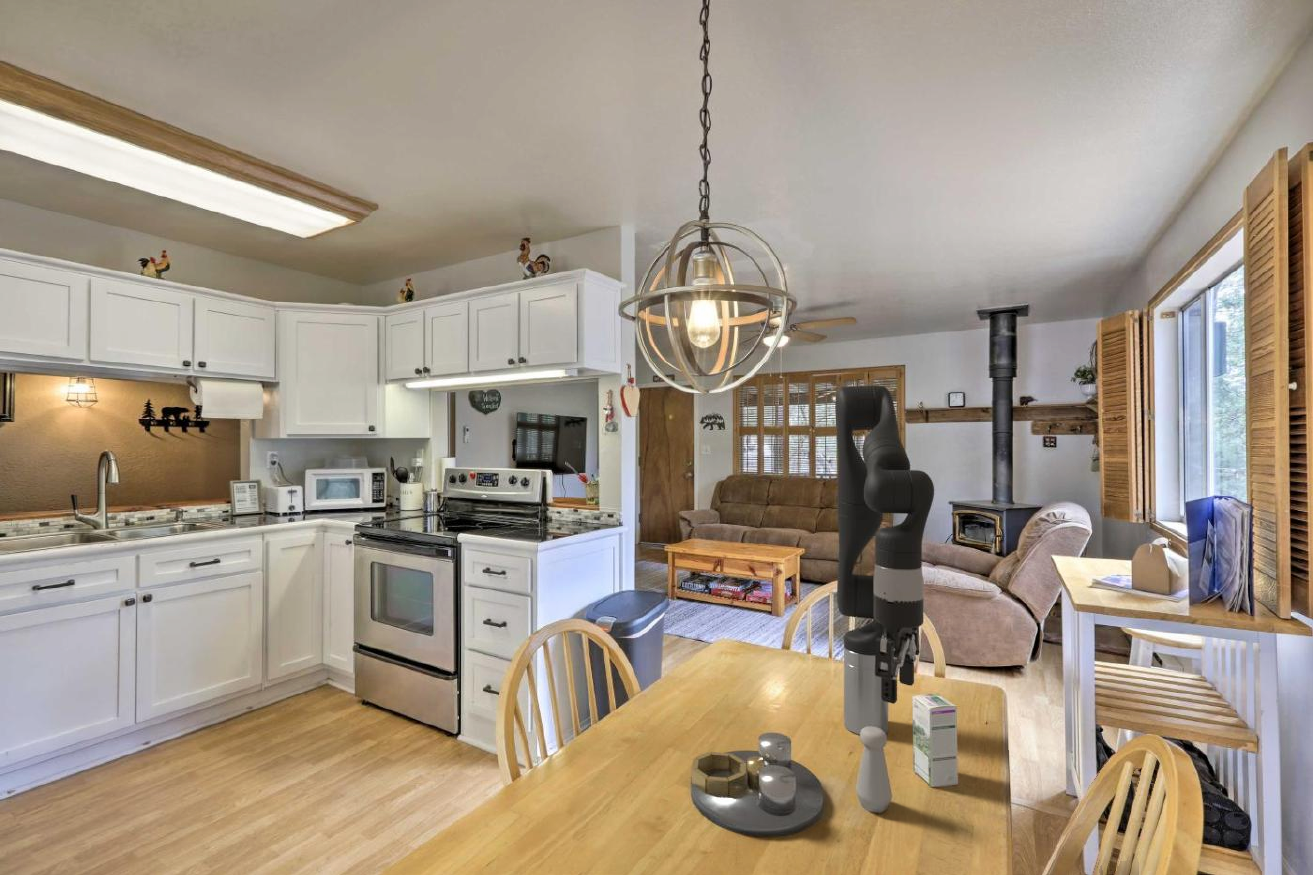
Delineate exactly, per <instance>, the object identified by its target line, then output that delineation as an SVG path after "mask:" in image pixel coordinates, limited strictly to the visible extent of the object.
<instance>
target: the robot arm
mask: <svg viewBox="0 0 1313 875" xmlns="http://www.w3.org/2000/svg"><path fill="white" fill-rule="evenodd" d="M893 400H894V399H893V396H892V393H891V391H890V390H889V389H888V388H887V387H885V386H884V385H859V386H858V385H857V386H856V385H855V386H851V385H850V386H842V387H840V388H839V389H838V390H837V392H836V394H835V400H834V401H835V406H834V410H835V412H834V413H835V426H836V427H835V428H836V441H837V442H836V443H837V460H838V461H837V463H838V466H837V470H838V471H837V472H838V473H837V474H838V476H837V526H838V527H837V529H838V567H837V584H836V585H837V587H836V594H837V595H836V599H837V600H836V602H837V603H836V604H837V608H838V611H839V613H840V615H842V616H844V617H851V618H861V619H871V620H872V621H871V622H870V623H868V624H866V625H864V626H862V627H859V628H858V627H857V628H854V629H852V630H849V631H847V632H846V633H845V634H844V636H843V725H844V727H845V728H846V729H847V730H848V731H850V732H851V733H854V734H857V735H859V736H860V733H861V730H862V729H863V728H864V727H867V726H872V727H877V728H880V729H881V730H883V731H884V732H885V734H886V735H887V733H889V703H890V704H894V705H895V704H896V702H897V701H898V681H899V683H900V684H903V685H906V686H911V687H912V686H913V685H914V684H915V663H916V661H917V656H919V655H920V653H921V652H920V627H921V626H922V625H923V624H924V576H923V567H922V566H923V564H922V563H923V558H922V557H923V556H922V554H923V551H922V550H923V549H922V548H923V545H922V544H923V538H924V532H925V528H926V525H927V524H926V523H927V520H928V517H929V514H930V511H931V509H932V508H931V507H932V505H933V502H934V497H935V484H934V482H933V480H932V478H931V477H930V475H929V474H928V473H926V472H925V471H923V470H918V469H913V470H911V462H910V460H909V457H908V454H907V452H906V450H905V447H904V446H903V444H902V440H901V438H900V433H899V432H900V431H899V425H898V418H897V414H896V409H895V404H894V401H893ZM854 431H870V432H869V433H868V434H867V436H866V437H865V439H864V441H863V443H862V449H861V450H862V452H861V453H862V456H861V454H860V452H859V450H858V448H857V446H856V444H855V441H854V436H853V435H854V434H853V433H854ZM884 514H901V515H902V514H904V515H905V514H907V515H906V517H905V518H904V520H903V521H902V522H901V523H900V524H896V525H892V526H888V527H883V528H880V527H881V526H882V522H883V520H884V519H883V518H884ZM874 536H875V540H874V542H875V543H874V544H875V545H874V547H875V548H874V550H875V551H874V554H875V555H874V559H875V564H874V574H873V575H871V574H870V575H867V574H854V573H853V572H854V569H855V566H856V563H857V561H858V560H859V557H860V555H861V554H862V553H863V551H864V549H865V548H866V546H867V545H868V544H869V542H871V540H872V539H873V537H874ZM898 677H899V678H898ZM898 679H899V680H898Z"/></svg>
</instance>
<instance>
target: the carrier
mask: <svg viewBox="0 0 1313 875" xmlns="http://www.w3.org/2000/svg"><path fill="white" fill-rule="evenodd" d="M757 742H758V745H757V746H758V748H757V749H758V750H731V751H725V752H721V751H720V752H719V751H707V752H705V753H702V754H700V755H698V756H695V757H693V760H692V763H691V764H692V765H691V777H690V797H691V800H692V803H693V805H694V806H695V808H696V810H698V812H699V813H700V814H701V815H702V816H703V817H705V818H706V819H707V820H708V821H710V822H712V823H713V824H715V825H717V826H719V827H721V828H723V829H725V830H727V831H732V832H734V833H737V834H741V835H746V836H754V837H763V838H765V837H766V838H769V837H770V838H771V837H783V836H788V835H793V834H797V833H800V832H801V831H804V830H806V829H808V828H809V827H811V826H813V825H814V824H815V823H816V822H817V821H818V820H819V819H820V817H821V815H822V813H823V811H824V810H823V809H824V788H823V786H822V784H821V782H820V779H818V777H817V775H815V774H814V772H812V771H811V770H810V769H809V768H807V767H806V766H805V765H802V764H801V763H799V762H797V761H795V760H793V759H792V740H791V738H790V737H788V736H787V735H785V734H783V733H778V732H765V733H762V734H760V735H759V736H758V741H757Z"/></svg>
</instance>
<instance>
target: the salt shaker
mask: <svg viewBox="0 0 1313 875" xmlns="http://www.w3.org/2000/svg"><path fill="white" fill-rule="evenodd" d="M859 736H860V741H861V744H863V745H864V746H863V751H862V756H861V760H860V765H859V769H858V775H857V781H856V786H855V790H856V795H857V798H858V801H859V804H860V805H861V807H862V808H864V809H865V810H866V811H868V812H870V813H876V814H877V813H878V814H882V813H883V812H884V811H886V810H887V809H888V807H889V805H890V803H891V801H892V798H893V794H892V786H891V783H890V778H889V772H888V766H887V760H886V756H885V755H886V754H885V751H884V748H885V747H886V746H887V744H888V741H887V740H888V739H887V738H888V737H887V733H886V734H885V732H884V731H883V730H881V729H880V728H877V727H872V726H867V727H864V728H863V729H862V730H861V733H860V735H859Z"/></svg>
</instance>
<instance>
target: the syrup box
mask: <svg viewBox="0 0 1313 875" xmlns="http://www.w3.org/2000/svg"><path fill="white" fill-rule="evenodd" d="M957 708H958V707H957V705H956V704H954V703H952V702H951V701H949V700H948V699H946V698H945V697H943V696H941V695H940V694H938V693H925V694H924V693H923V694H918V695H912V752H913V753H912V756H913V757H912V759H913V763H912V764H913V765H912V766H913V772H914V773H915V774H916V775H918V776H919V777H920V778H921V779H922V780H923V781H924V782H925V783H926V784H927V785H928V786H929V787H932V788H937V787H938V788H939V787H941V788H942V787H950V786H955V785H956V786H957V785H959V776H958V775H959V774H958V773H959V772H958V770H959V769H958V768H959V766H958V712H957V711H958V709H957Z"/></svg>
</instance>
